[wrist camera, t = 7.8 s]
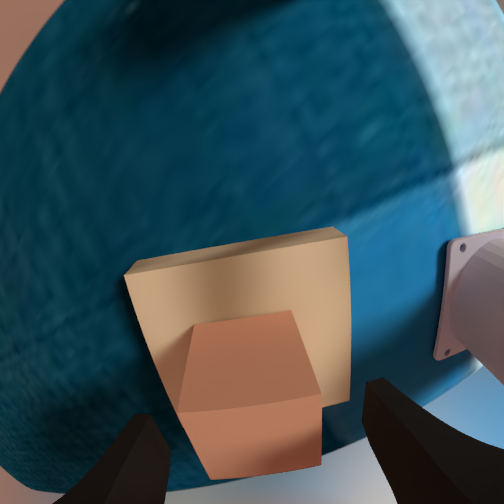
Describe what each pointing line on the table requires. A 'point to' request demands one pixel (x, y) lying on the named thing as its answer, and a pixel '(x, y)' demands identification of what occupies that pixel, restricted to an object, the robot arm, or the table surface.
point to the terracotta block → (251, 397)
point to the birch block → (250, 300)
